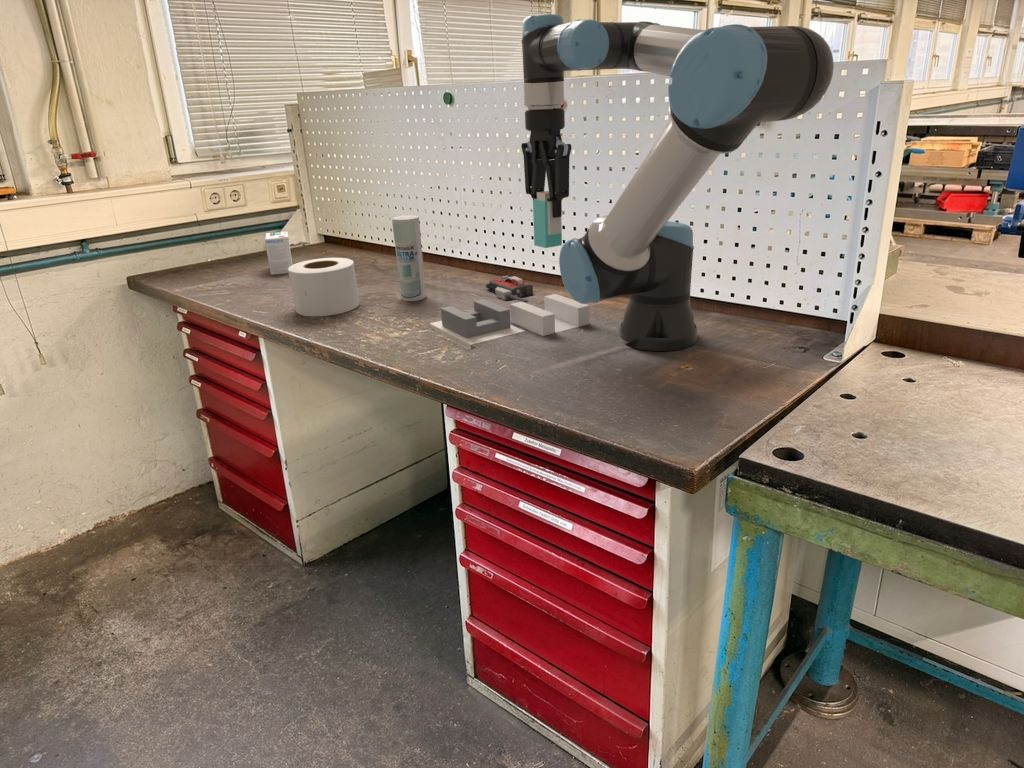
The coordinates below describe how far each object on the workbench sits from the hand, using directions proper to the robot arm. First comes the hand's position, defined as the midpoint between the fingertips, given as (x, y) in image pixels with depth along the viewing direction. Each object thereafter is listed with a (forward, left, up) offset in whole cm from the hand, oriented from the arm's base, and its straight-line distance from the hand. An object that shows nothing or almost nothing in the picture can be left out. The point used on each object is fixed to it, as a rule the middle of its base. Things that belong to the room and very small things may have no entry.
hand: (547, 232), depth 139 cm
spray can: (+42, +12, -20) cm, 48 cm away
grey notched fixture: (+8, +13, -20) cm, 26 cm away
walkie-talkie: (+27, -8, -21) cm, 35 cm away
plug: (0, 0, -3) cm, 3 cm away
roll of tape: (+49, +32, -21) cm, 62 cm away
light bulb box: (+99, +29, -21) cm, 105 cm away
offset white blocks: (0, 0, -20) cm, 20 cm away
